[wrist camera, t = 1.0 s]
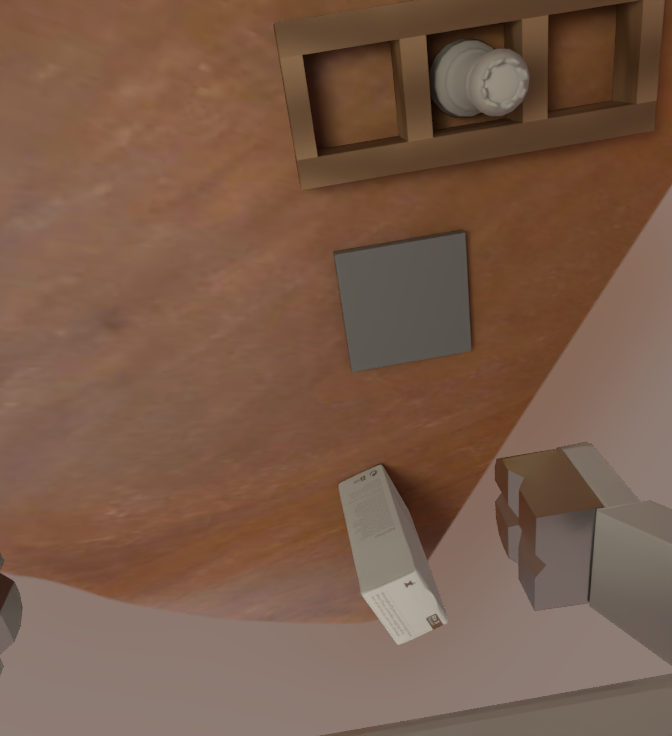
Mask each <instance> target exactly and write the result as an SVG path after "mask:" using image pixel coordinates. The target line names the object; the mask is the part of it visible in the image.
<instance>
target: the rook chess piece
mask: <svg viewBox="0 0 672 736" xmlns="http://www.w3.org/2000/svg"><path fill="white" fill-rule="evenodd" d="M529 78H530V76H529V72H528V67H527V64H526V62H525V61H524V60H523V58H522V57H521V56H520V54H518V53H516V52H514V51H512V50H510V49H495V50H493V48H492V47H491V46H490V45H488V44H486V43H484V42H482V41H480V40H476V39H458V40H456V41H454V42H452V43H449V44H447V45H446V46H445V47H444V48H443V49H442V50H441V51H440V52H439V53H438V54H437V55H436V57H435V59H434V62H433V64H432V66H431V68H430V71H429V86H430V93H431V96H432V100H433V101H434V103H435V104H436V105H437V106H438V107H439V109H440V110H441V111H442V112H444V113H446V114H448V115H451V116H453V117H473V116H475V115H477V114H479V113H484V114H486V115H488V116H503V115H505V114H507V113H510V112H512V111H513V110H514V109H515V108H516V107H517V106H518V105H519V104H520V103H522V101H523V99H524V97H525V95H526V93H527V91H528V86H529Z"/></svg>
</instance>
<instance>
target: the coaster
mask: <svg viewBox="0 0 672 736" xmlns="http://www.w3.org/2000/svg"><path fill="white" fill-rule="evenodd" d="M333 253H334V260H335V266H336V273H337V280H338V286H339V293H340V300H341V306H342V313H343V320H344V327H345V333H346V340H347V347H348V353H349V360H350V367H351V371H352V372H356V371H361V370H367V369H373V368H379V367H384V366H390V365H396V364H401V363H407V362H413V361H418V360H424V359H430V358H435V357H441V356H447V355H453V354H458V353H464V352H470V351H471V333H470V313H469V294H468V274H467V255H466V236H465V232H464V231H463V230H457V231H451V232H445V233H439V234H433V235H428V236H422V237H416V238H410V239H404V240H398V241H392V242H386V243H381V244H375V245H369V246H363V247H357V248H351V249H345V250H340V251H334V252H333Z"/></svg>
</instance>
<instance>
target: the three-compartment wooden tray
mask: <svg viewBox="0 0 672 736" xmlns="http://www.w3.org/2000/svg"><path fill="white" fill-rule="evenodd" d="M664 3H665V0H415V1H409V2H402V3H396V4H390V5H384V6H377V7H371V8H365V9H359V10H353V11H346V12H340V13H334V14H328V15H321V16H315V17H309V18H303V19H296V20H290V21H284V22H278V23H274V31H275V37H276V43H277V49H278V55H279V61H280V68H281V74H282V80H283V86H284V92H285V98H286V104H287V110H288V116H289V122H290V128H291V134H292V140H293V146H294V152H295V158H296V164H297V170H298V176H299V182H300V185H301V189H302V190H305V189H311V188H317V187H323V186H329V185H335V184H341V183H347V182H353V181H359V180H365V179H371V178H377V177H383V176H389V175H395V174H401V173H407V172H413V171H419V170H425V169H431V168H437V167H443V166H449V165H454V164H460V163H466V162H472V161H478V160H484V159H490V158H496V157H502V156H508V155H514V154H520V153H526V152H532V151H538V150H544V149H550V148H556V147H562V146H568V145H574V144H580V143H586V142H592V141H598V140H604V139H610V138H616V137H622V136H627V135H633V134H639V133H645V132H651V131H654V128H655V116H656V103H657V91H658V78H659V66H660V53H661V41H662V28H663V15H664ZM614 4H617V16H616V36H615V56H614V76H613V96H612V101H607V102H601V103H595V104H589V105H583V106H577V107H571V108H565V109H559V110H553V111H548V15H552V14H558V13H564V12H571V11H577V10H583V9H589V8H595V7H602V6H608V5H614ZM503 22H504V39H505V49H510V50H512V51H514V52H516V53H518V54H520V56H521V57H522V58H523V60H524V61H525V62H526V64H527V67H528V72H529V76H530V78H529V86H528V91H527V93H526V95H525V97H524V99H523V101H522V103H520V104H519V105H518V106H517V107H516V108H515V109H514V110H513V111H512V112H510V113H507V114H506V118H504V119H498V120H492V121H486V122H480V123H474V124H468V125H462V126H456V127H450V128H444V129H438V130H433V129H432V114H431V100H430V86H429V72H428V57H427V43H426V35H429V34H435V33H441V32H447V31H453V30H459V29H466V28H472V27H478V26H484V25H490V24H497V23H503ZM385 41H390V45H391V56H392V67H393V77H394V88H395V99H396V109H397V120H398V131H399V136H396V137H390V138H384V139H378V140H372V141H366V142H360V143H354V144H348V145H342V146H336V147H330V148H324V149H318V150H317V149H316V142H315V136H314V129H313V123H312V116H311V109H310V103H309V96H308V89H307V83H306V76H305V69H304V63H303V56H302V55H305V54H311V53H317V52H324V51H330V50H336V49H342V48H348V47H355V46H361V45H367V44H373V43H379V42H385Z"/></svg>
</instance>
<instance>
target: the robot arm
mask: <svg viewBox="0 0 672 736" xmlns="http://www.w3.org/2000/svg"><path fill="white" fill-rule="evenodd" d="M495 481H496V483H497V484H498V486H499V488H500V490H501V492H502V493H501V494H500V496H499V497H498V499H497V500H496V501H495V506H496V520H497V526H498V531H499V535H500V538H501V541H502V544H503V547H504V549H505V551H506V553H507V555H508V558H509V559H511V560H513V561H514V562H516V563H518V566H519V581H520V582H521V584H522V587H523V589H524V591H525V593H526V595H527V597H528V599H529V601H530V603H531V605H532V607H533V609H534V611H539V610H546V609H552V608H559V607H566V606H573V605H580V604H587V603H589V606H590V607H592V608H593V609H594V610H596V611H597V612H599V613H600V614H601V615H603V616H604V617H605V618H607V619H608V620H609V621H611V622H612V623H614V624H615V625H616V626H618V627H619V628H620V629H622V630H623V631H625V632H626V633H627V634H629V635H630V636H631V637H633V638H634V639H636V640H637V641H638V642H640V643H641V644H642V645H644V646H645V647H647V648H648V649H649V650H651V651H652V652H653V653H655V654H657V655H658V656H659V657H660V658H662V659H663V660H664V661H666V662H667V663H669V664H670V665H671V666H672V509H670V508H668V507H665V506H663V505H660V504H658V503H656V502H653V501H651V500H650V501H643V502H641V501H640V500H639V499H638V498H637V496H636V495H635V494H634V493H633V492H632V491H631V489H630V488H629V487H628V486H627V485H626V483H625V482H624V481H623V480H622V479H621V478H620V476H619V475H618V474H617V473H616V472H615V471H614V469H613V468H612V467H611V466H610V465H609V464H608V462H607V461H606V460H605V459H604V458H603V457H602V455H601V454H600V453H599V452H598V451H597V450H596V448H595V447H594V446H593V445H592V444H590V443H588V442H583V443H578V444H573V445H568V446H563V447H558V448H556V449H552V450H547V451H541V452H535V453H529V454H523V455H517V456H511V457H505V458H499V459H497V460H496V464H495ZM3 563H4V559H3V557H2V555H1V553H0V570H1V568H2V565H3ZM21 617H22V603H21V597H20V593H19V591H18V588H17V586H16V584H15V582H14V581H13V580H11V579H10V578H8V577H6V576H5V575H3V574H1V573H0V654H2V653H3V652H4V651H5V650H6V649H7V648H8V647H9V646H10V645H11V644H12V643H14V641H15V639H16V636H17V634H18V631H19V629H20V626H21ZM3 667H4V666H3V664H2V661H1V659H0V674H1V672H2V669H3ZM321 736H672V674H667V675H661V676H656V677H650V678H644V679H639V680H633V681H628V682H622V683H616V684H611V685H605V686H599V687H593V688H588V689H582V690H577V691H571V692H565V693H560V694H554V695H549V696H543V697H538V698H532V699H526V700H521V701H515V702H509V703H504V704H498V705H492V706H487V707H481V708H475V709H470V710H464V711H458V712H453V713H447V714H442V715H435V716H430V717H424V718H418V719H413V720H407V721H401V722H396V723H390V724H384V725H378V726H373V727H367V728H362V729H356V730H350V731H344V732H339V733H333V734H327V735H321Z"/></svg>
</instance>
